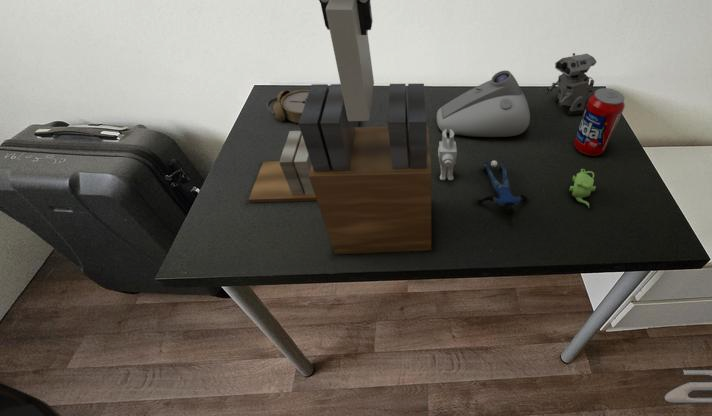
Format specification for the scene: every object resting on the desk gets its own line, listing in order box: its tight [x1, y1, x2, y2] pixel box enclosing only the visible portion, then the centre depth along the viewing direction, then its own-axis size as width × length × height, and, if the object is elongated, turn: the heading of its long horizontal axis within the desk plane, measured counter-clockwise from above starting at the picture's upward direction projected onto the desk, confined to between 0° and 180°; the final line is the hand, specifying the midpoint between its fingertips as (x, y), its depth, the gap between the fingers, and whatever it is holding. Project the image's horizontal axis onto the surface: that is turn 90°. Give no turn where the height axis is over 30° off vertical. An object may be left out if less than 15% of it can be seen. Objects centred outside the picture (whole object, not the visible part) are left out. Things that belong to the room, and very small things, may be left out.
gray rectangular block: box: [326, 0, 375, 122], centre depth 47 cm, size 10×3×14 cm, turn 4°
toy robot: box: [437, 129, 458, 181], centre depth 80 cm, size 4×8×12 cm, turn 3°
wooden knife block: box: [298, 83, 432, 255], centre depth 63 cm, size 12×18×28 cm, turn 95°
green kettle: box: [569, 168, 597, 208], centre depth 79 cm, size 6×5×6 cm
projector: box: [436, 69, 531, 138], centre depth 93 cm, size 22×23×15 cm
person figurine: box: [477, 159, 528, 217], centre depth 79 cm, size 11×4×18 cm
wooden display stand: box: [247, 130, 317, 204], centre depth 77 cm, size 12×14×10 cm
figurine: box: [546, 52, 597, 117], centre depth 99 cm, size 9×12×15 cm
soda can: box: [573, 87, 626, 157], centre depth 87 cm, size 8×8×15 cm
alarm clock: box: [266, 89, 310, 124], centre depth 97 cm, size 11×5×15 cm
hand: (350, 31), depth 45 cm, fingers closed on gray rectangular block, 3 cm apart
